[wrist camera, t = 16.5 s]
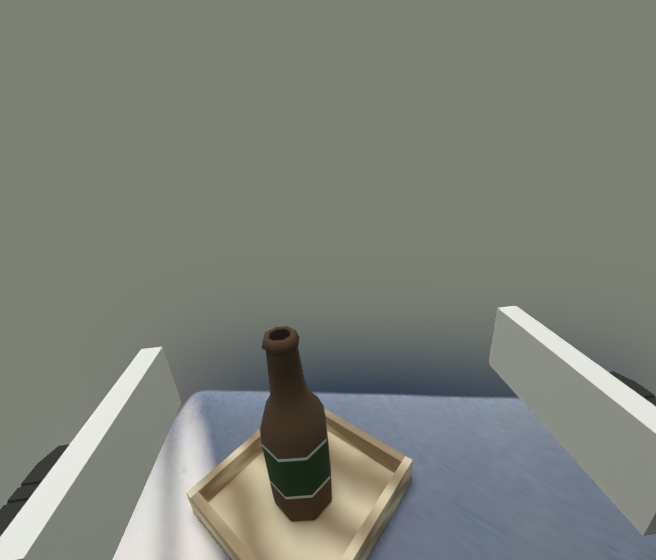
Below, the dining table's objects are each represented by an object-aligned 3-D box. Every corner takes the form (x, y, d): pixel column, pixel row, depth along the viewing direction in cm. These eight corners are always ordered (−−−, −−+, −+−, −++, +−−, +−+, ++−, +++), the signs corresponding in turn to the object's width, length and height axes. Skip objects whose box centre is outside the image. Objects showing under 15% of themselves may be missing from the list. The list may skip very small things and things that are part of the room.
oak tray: (302, 412, 54) (300, 394, 52) (411, 481, 42) (412, 460, 40) (194, 513, 40) (186, 492, 38) (310, 659, 28) (305, 638, 26)
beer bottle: (284, 538, 36) (247, 369, 26) (267, 478, 42) (233, 326, 33) (345, 506, 39) (331, 341, 29) (320, 454, 45) (303, 307, 36)
